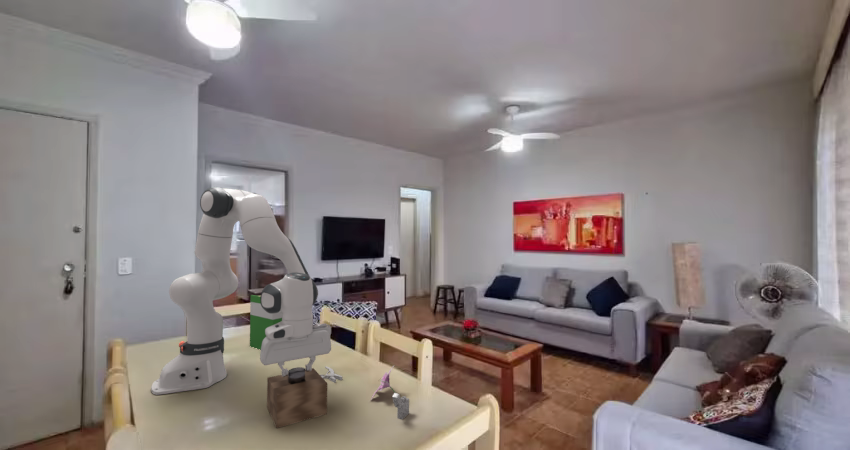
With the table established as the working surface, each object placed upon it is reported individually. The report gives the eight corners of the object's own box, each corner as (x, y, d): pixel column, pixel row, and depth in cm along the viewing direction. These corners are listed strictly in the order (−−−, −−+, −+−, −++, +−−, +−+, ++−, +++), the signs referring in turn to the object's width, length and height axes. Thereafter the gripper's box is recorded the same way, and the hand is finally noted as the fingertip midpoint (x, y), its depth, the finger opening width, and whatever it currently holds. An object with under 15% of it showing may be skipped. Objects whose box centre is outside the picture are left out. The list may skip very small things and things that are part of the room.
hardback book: (249, 346, 166) (250, 295, 166) (264, 342, 172) (265, 293, 172) (272, 353, 156) (273, 299, 157) (287, 349, 162) (287, 296, 163)
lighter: (404, 411, 106) (404, 384, 106) (409, 413, 105) (409, 386, 105) (391, 423, 99) (391, 394, 100) (397, 424, 99) (397, 395, 99)
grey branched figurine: (326, 363, 141) (349, 373, 131) (326, 368, 141) (349, 378, 131) (303, 371, 133) (326, 382, 124) (303, 375, 133) (326, 386, 124)
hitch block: (276, 428, 97) (277, 394, 97) (266, 407, 108) (267, 377, 108) (327, 413, 104) (327, 383, 105) (312, 395, 116) (313, 368, 116)
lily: (389, 388, 124) (375, 365, 124) (414, 382, 119) (400, 357, 118) (371, 413, 114) (356, 388, 113) (398, 408, 108) (382, 382, 108)
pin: (289, 409, 103) (290, 374, 103) (286, 402, 107) (286, 369, 107) (306, 404, 106) (307, 371, 106) (302, 398, 110) (302, 366, 110)
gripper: (327, 320, 115) (327, 363, 115) (259, 329, 104) (258, 377, 104) (334, 324, 110) (334, 369, 110) (263, 334, 99) (262, 384, 98)
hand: (296, 373), depth 107 cm, fingers open, 5 cm apart
